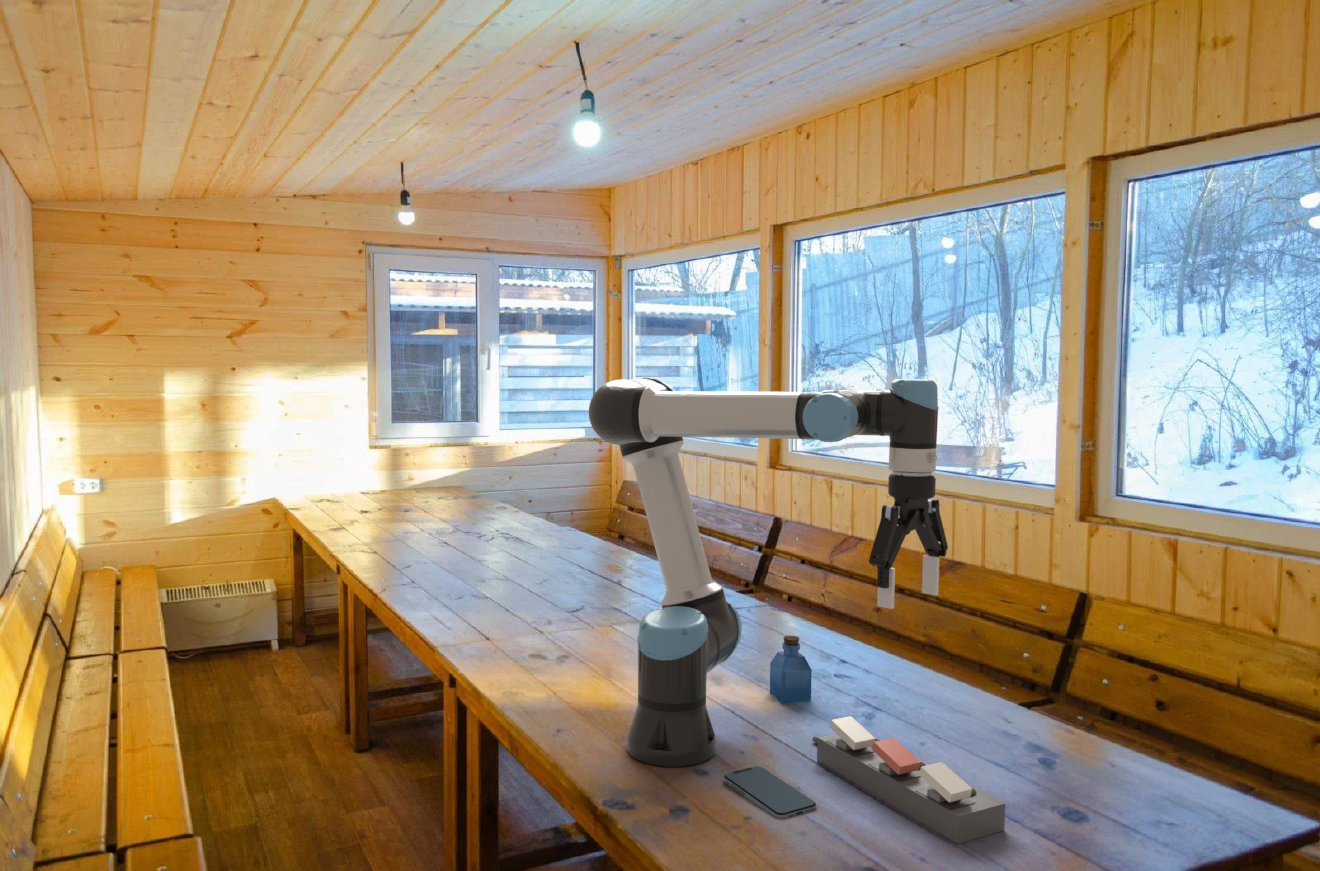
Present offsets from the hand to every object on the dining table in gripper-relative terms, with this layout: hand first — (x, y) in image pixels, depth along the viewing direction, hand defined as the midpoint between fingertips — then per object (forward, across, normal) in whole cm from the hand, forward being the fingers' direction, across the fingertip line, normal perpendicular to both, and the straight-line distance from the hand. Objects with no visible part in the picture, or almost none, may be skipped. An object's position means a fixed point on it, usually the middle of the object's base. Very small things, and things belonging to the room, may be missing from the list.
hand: (908, 600), depth 166 cm
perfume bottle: (+27, +10, +32) cm, 43 cm away
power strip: (+27, -11, -4) cm, 29 cm away
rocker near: (+21, -16, -17) cm, 31 cm away
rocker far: (+21, -10, +3) cm, 24 cm away
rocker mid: (+21, -13, -7) cm, 26 cm away
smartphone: (+28, -27, +7) cm, 40 cm away
